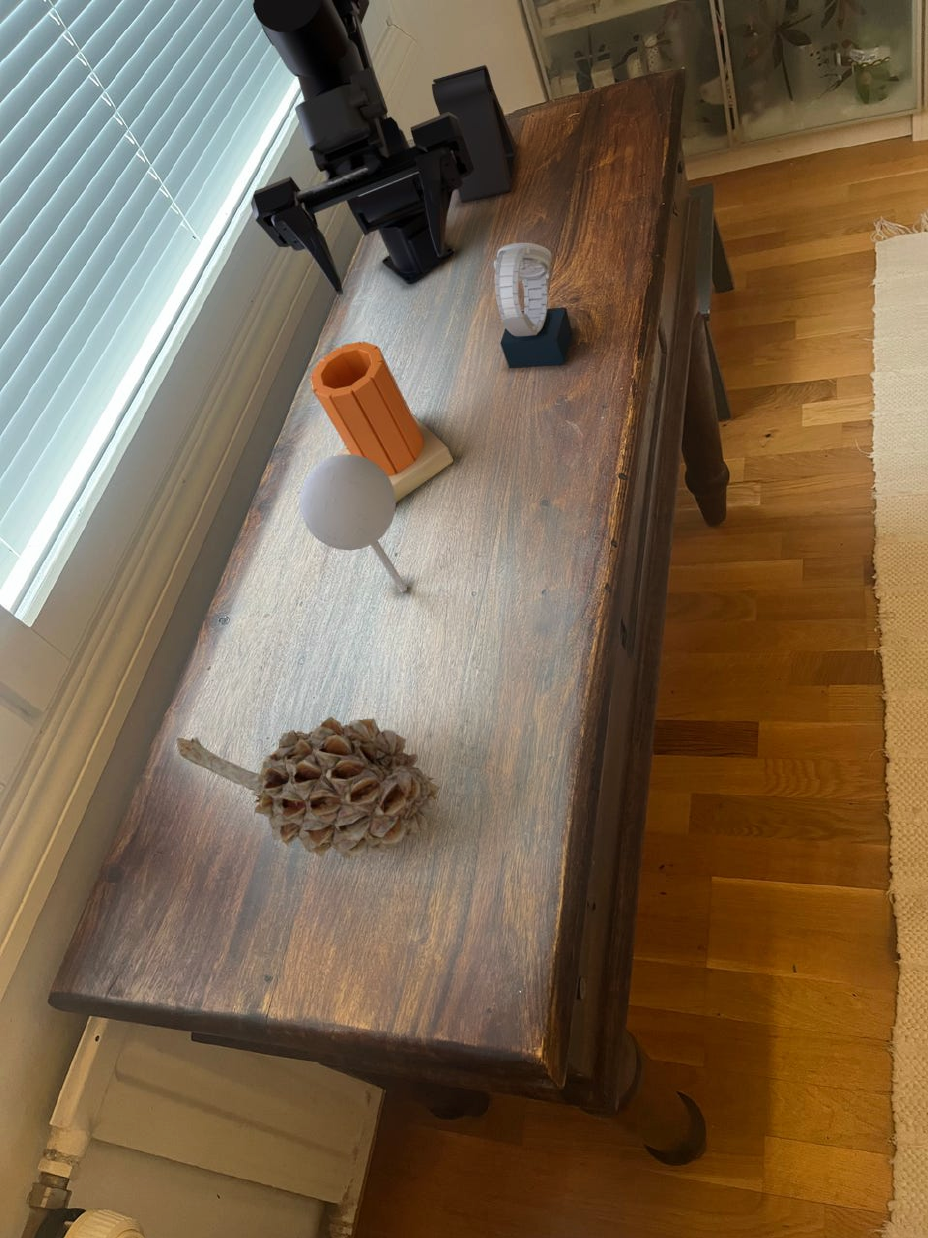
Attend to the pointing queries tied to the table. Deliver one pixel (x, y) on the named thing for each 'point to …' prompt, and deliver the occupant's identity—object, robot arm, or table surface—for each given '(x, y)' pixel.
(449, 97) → the phone stand
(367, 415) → the orange fluted tube
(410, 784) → the pine cone
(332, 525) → the lollipop
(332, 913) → the table surface
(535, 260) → the watch
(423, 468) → the peg on block
